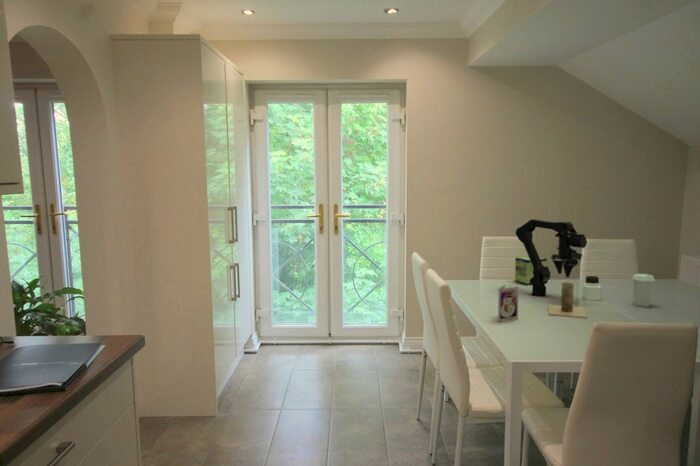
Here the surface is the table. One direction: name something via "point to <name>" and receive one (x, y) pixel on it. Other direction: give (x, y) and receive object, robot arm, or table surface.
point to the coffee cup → (643, 289)
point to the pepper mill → (567, 297)
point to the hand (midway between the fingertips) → (563, 275)
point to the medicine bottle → (592, 288)
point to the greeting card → (508, 303)
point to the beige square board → (576, 312)
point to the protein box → (525, 269)
